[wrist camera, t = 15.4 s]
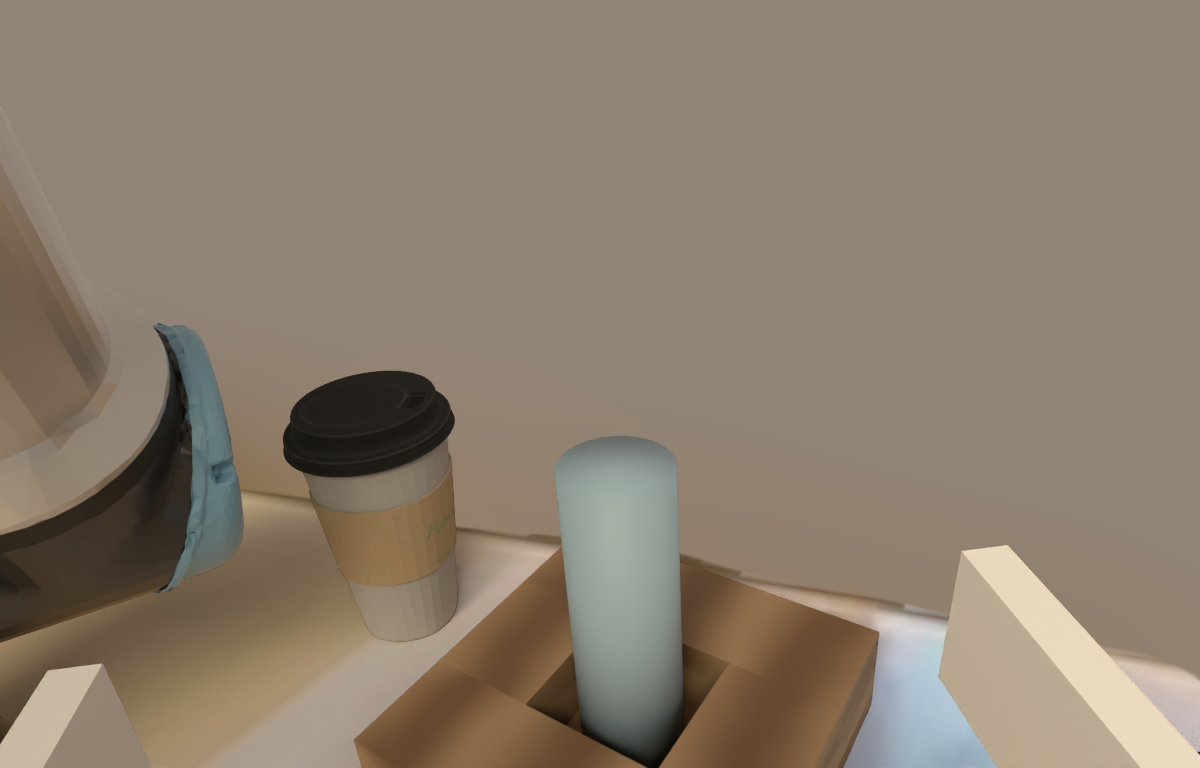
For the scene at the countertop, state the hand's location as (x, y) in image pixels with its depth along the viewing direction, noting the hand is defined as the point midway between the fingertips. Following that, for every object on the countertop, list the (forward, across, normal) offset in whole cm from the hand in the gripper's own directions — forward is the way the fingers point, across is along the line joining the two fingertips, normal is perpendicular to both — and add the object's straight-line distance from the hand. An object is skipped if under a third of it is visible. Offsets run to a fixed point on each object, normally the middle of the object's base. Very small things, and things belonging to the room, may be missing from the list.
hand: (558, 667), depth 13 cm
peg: (+18, +3, -24) cm, 30 cm away
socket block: (+18, +3, -25) cm, 31 cm away
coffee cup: (+31, -9, -26) cm, 41 cm away
